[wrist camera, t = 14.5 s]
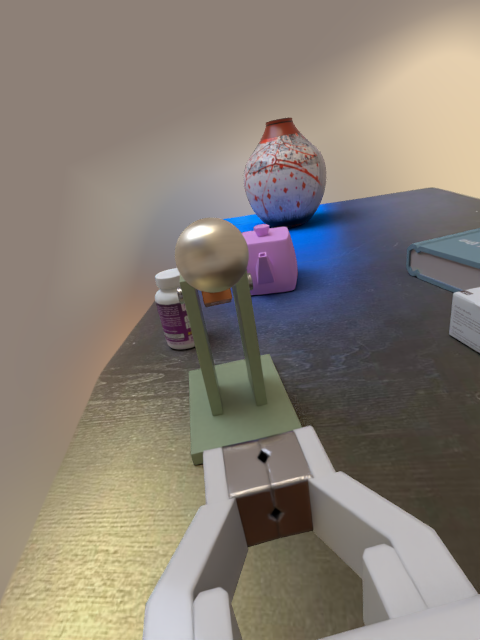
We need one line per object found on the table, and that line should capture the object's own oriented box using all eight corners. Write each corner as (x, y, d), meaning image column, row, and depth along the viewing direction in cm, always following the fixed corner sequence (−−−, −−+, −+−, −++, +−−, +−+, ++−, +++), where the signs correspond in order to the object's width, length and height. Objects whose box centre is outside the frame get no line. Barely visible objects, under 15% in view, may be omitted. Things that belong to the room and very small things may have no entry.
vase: (265, 219, 120) (254, 127, 108) (334, 213, 110) (330, 112, 98) (238, 236, 101) (221, 128, 89) (319, 231, 91) (312, 108, 79)
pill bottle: (199, 350, 44) (182, 278, 40) (161, 351, 45) (141, 282, 41) (211, 330, 49) (197, 264, 44) (176, 331, 50) (159, 267, 46)
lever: (259, 277, 15) (242, 199, 15) (178, 293, 15) (162, 213, 15) (240, 307, 29) (232, 266, 30) (198, 315, 29) (190, 274, 29)
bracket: (304, 439, 28) (287, 278, 22) (194, 465, 27) (146, 307, 21) (270, 362, 39) (253, 241, 33) (191, 380, 38) (159, 259, 32)
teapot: (301, 300, 53) (295, 233, 48) (233, 307, 55) (222, 243, 50) (296, 264, 69) (291, 212, 65) (244, 271, 71) (235, 220, 66)
